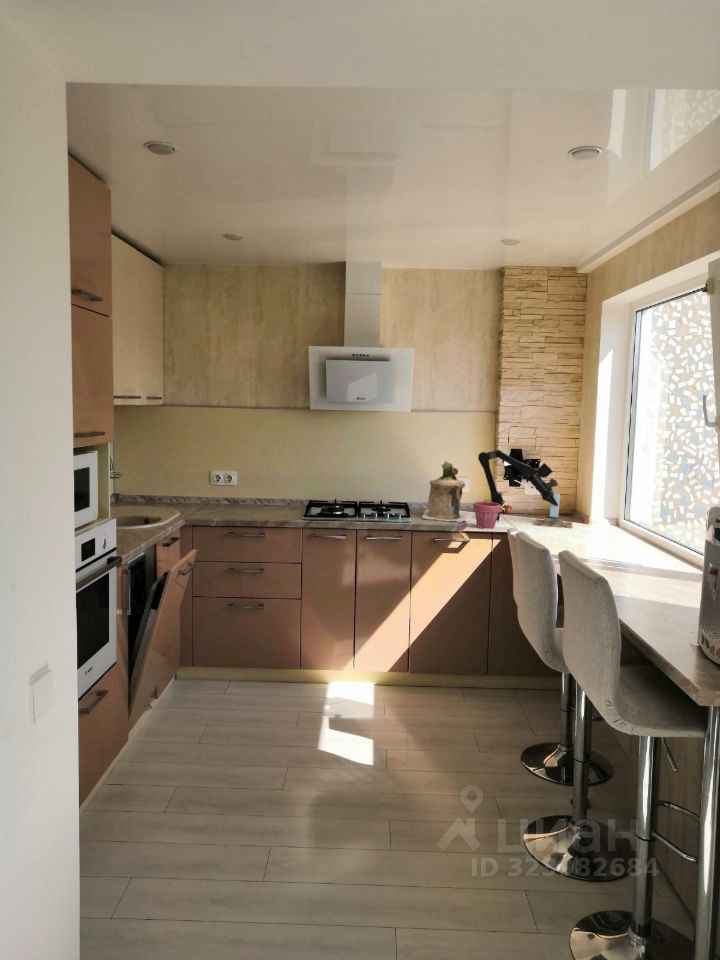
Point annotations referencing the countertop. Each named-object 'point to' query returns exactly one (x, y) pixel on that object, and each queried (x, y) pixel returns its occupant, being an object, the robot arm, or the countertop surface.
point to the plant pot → (486, 513)
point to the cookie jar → (445, 497)
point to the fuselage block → (555, 509)
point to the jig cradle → (553, 522)
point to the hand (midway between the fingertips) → (557, 504)
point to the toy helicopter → (507, 508)
